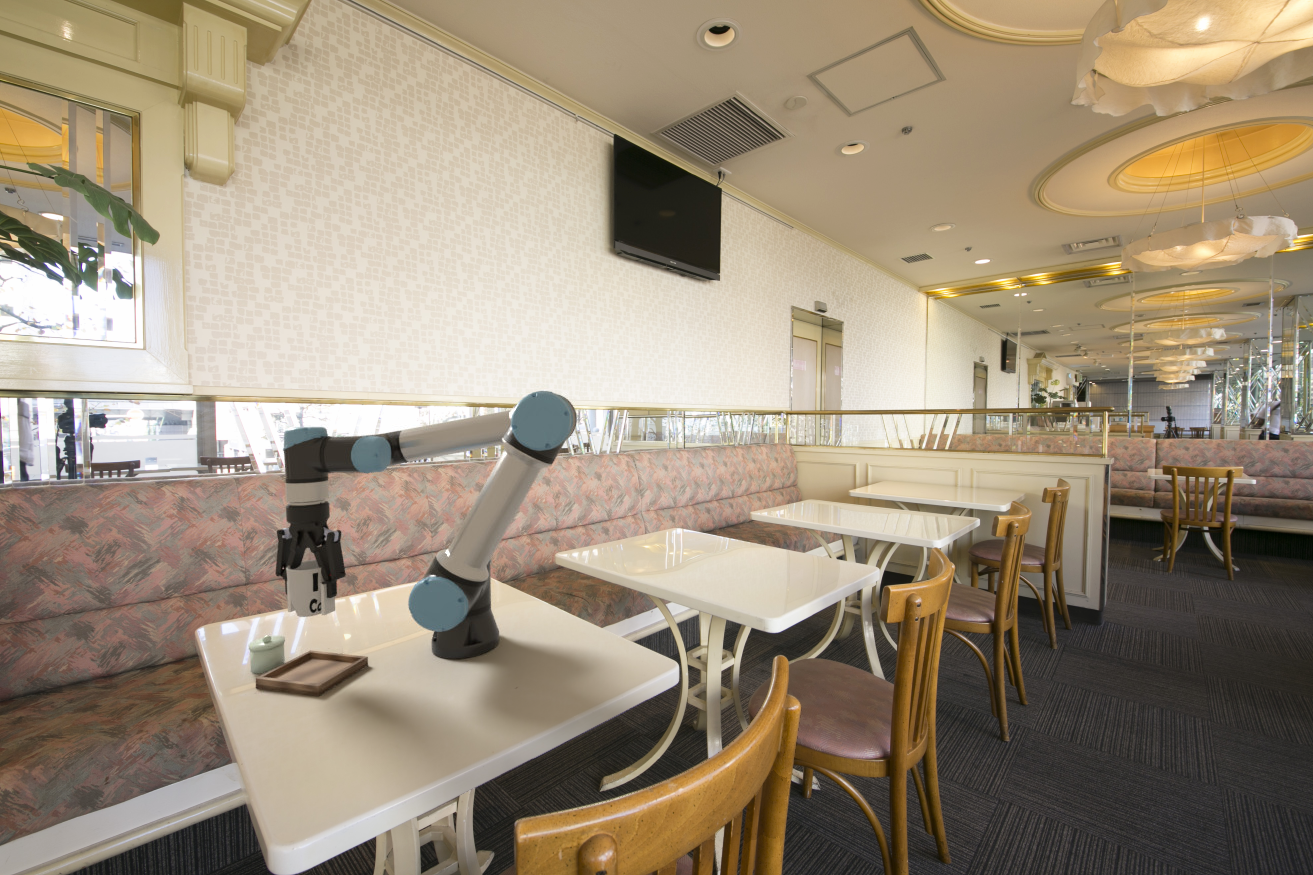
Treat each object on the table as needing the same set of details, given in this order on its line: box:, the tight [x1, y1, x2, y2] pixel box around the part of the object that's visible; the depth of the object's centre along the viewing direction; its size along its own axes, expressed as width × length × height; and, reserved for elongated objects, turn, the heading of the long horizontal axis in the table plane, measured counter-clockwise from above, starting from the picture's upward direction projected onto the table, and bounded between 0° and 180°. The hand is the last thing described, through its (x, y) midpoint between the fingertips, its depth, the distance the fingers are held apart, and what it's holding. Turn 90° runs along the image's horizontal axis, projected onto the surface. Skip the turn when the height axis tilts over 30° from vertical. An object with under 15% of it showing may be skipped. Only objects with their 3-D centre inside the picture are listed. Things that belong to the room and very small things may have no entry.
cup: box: [286, 559, 331, 618], centre depth 113 cm, size 8×8×10 cm
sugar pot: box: [248, 634, 286, 675], centre depth 118 cm, size 6×6×7 cm
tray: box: [255, 650, 369, 697], centre depth 113 cm, size 15×13×2 cm
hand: (311, 610), depth 113 cm, fingers closed on cup, 8 cm apart
